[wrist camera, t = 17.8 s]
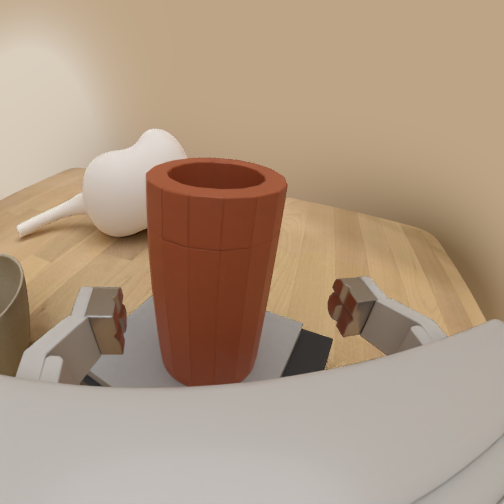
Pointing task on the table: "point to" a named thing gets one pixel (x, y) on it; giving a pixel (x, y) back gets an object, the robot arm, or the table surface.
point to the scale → (155, 375)
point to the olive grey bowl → (13, 315)
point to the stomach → (115, 187)
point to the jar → (212, 263)
